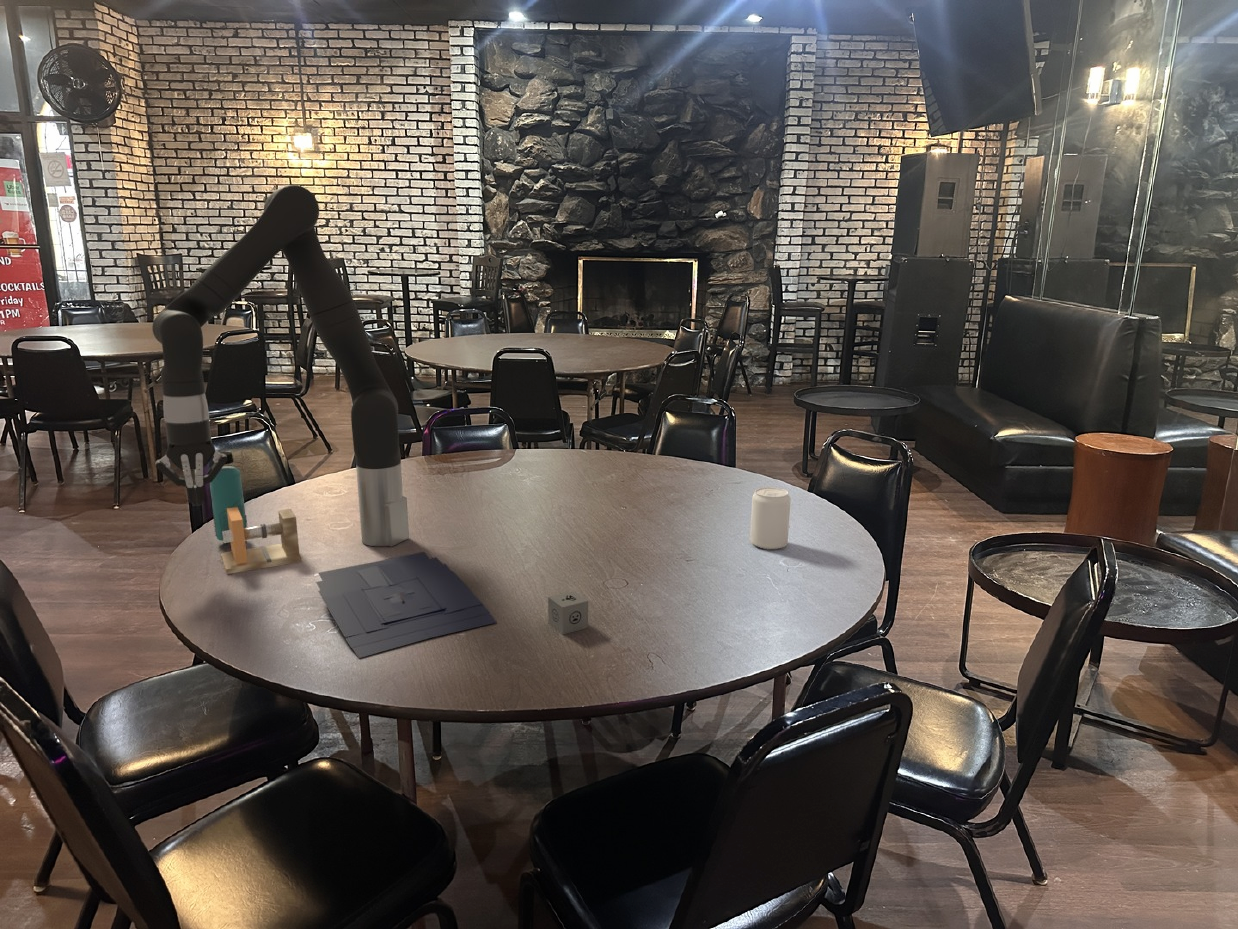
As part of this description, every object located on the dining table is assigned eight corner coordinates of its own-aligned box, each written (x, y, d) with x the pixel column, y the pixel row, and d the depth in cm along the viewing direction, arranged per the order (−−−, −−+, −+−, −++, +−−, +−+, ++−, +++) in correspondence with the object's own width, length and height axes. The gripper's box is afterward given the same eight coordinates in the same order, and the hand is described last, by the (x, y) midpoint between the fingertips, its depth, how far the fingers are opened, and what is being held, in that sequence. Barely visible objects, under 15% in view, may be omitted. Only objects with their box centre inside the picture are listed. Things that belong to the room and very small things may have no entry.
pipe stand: (226, 574, 164) (221, 530, 162) (221, 557, 173) (216, 516, 170) (301, 561, 171) (297, 519, 169) (293, 546, 179) (289, 506, 177)
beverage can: (791, 541, 185) (794, 489, 182) (782, 553, 178) (785, 499, 175) (755, 536, 188) (758, 484, 185) (745, 547, 181) (748, 494, 178)
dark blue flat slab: (433, 562, 169) (433, 545, 167) (498, 635, 146) (498, 617, 144) (308, 588, 156) (307, 570, 154) (357, 673, 133) (356, 653, 131)
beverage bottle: (236, 549, 178) (226, 457, 172) (209, 546, 179) (197, 455, 174) (255, 538, 184) (246, 450, 179) (228, 536, 185) (218, 448, 180)
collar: (236, 564, 165) (231, 521, 163) (231, 550, 173) (226, 508, 170) (247, 562, 166) (242, 519, 164) (242, 548, 174) (237, 506, 171)
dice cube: (588, 628, 143) (588, 600, 142) (562, 635, 141) (562, 607, 139) (573, 617, 147) (573, 590, 146) (548, 623, 145) (548, 596, 143)
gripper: (223, 411, 166) (232, 495, 170) (146, 416, 159) (157, 503, 164) (227, 418, 159) (235, 505, 164) (147, 424, 153) (159, 514, 157)
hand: (196, 504), depth 164 cm, fingers closed
